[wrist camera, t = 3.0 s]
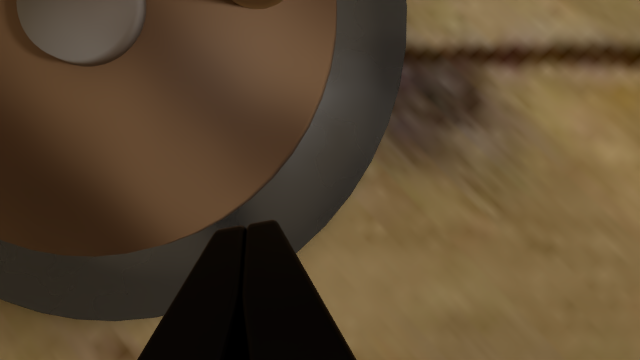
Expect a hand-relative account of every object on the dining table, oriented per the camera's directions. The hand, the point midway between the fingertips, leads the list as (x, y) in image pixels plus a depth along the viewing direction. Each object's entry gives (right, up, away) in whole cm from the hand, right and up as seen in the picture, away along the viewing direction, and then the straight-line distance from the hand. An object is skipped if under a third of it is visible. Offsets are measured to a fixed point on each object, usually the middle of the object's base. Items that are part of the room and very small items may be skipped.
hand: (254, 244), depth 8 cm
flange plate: (-8, +7, +13) cm, 17 cm away
